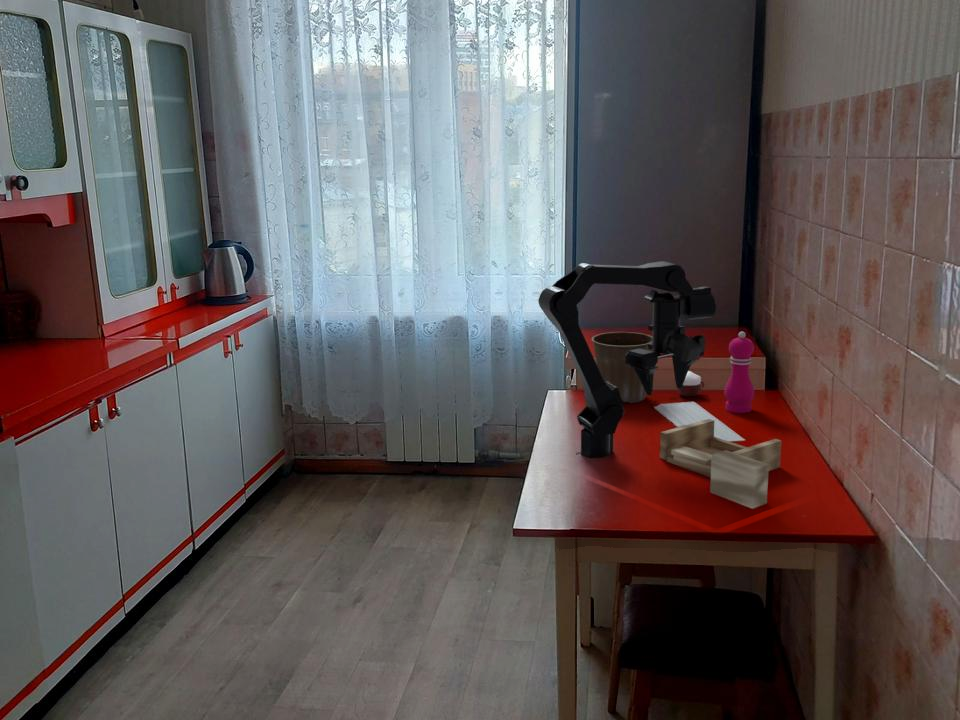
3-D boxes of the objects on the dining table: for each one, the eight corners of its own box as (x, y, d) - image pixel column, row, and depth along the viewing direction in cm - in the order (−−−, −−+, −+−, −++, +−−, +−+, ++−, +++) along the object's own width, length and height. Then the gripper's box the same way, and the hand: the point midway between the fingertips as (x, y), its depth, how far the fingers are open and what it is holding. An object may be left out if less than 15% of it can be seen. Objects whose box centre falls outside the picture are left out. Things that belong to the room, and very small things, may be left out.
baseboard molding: (693, 450, 204) (745, 446, 206) (694, 437, 203) (745, 434, 205) (648, 410, 234) (693, 407, 235) (648, 399, 233) (694, 396, 235)
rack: (730, 487, 180) (732, 456, 179) (659, 461, 196) (660, 432, 194) (779, 470, 189) (781, 440, 187) (708, 446, 204) (709, 418, 202)
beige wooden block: (752, 510, 168) (754, 469, 166) (710, 494, 176) (711, 454, 174) (766, 505, 170) (768, 464, 169) (724, 489, 178) (725, 450, 177)
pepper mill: (724, 404, 235) (727, 327, 230) (753, 406, 233) (758, 329, 228) (722, 412, 228) (726, 333, 224) (752, 414, 226) (757, 335, 221)
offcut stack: (718, 480, 182) (718, 466, 181) (666, 461, 193) (666, 448, 192) (732, 476, 184) (733, 461, 183) (680, 457, 195) (680, 444, 195)
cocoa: (702, 393, 247) (705, 349, 244) (706, 399, 241) (709, 354, 238) (666, 392, 247) (669, 348, 245) (669, 398, 241) (672, 353, 239)
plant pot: (638, 410, 232) (639, 347, 228) (580, 401, 241) (581, 341, 237) (662, 394, 246) (664, 335, 242) (607, 386, 254) (607, 329, 250)
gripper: (662, 333, 185) (660, 407, 189) (725, 321, 196) (722, 392, 199) (624, 324, 194) (623, 396, 198) (685, 313, 204) (683, 381, 208)
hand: (664, 391), depth 200 cm, fingers open, 9 cm apart
